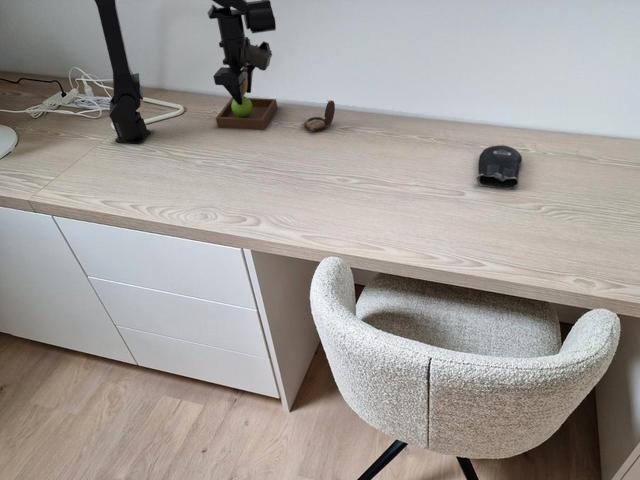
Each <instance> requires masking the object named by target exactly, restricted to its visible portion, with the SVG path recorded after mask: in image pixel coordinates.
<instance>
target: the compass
mask: <svg viewBox="0 0 640 480" xmlns="http://www.w3.org/2000/svg"><path fill="white" fill-rule="evenodd" d="M326 102H327V104H326V106H325V110H324V115H323V116H324V117H321V116H313V117H310V118H308V119H307V120H305V121H304V128H305V129H306V132H308V133H309V132H311V133H314V132H320V131H324V130H325V129H327V128H328V127H329V126H331V124H332V122H333V120H334V116H335V111H336V104H335V101H334V100H332V99H331V100H326Z"/></svg>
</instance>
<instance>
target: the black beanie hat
mask: <svg viewBox="0 0 640 480" xmlns="http://www.w3.org/2000/svg"><path fill="white" fill-rule="evenodd" d="M522 159H523V157H522V153H520V152H519V151H518V150H517V149H516V148H514V147H512V146H509V145H504V144H498V145H492V146H488V147H486V148H484V149H483V150H482V152H481V153H480V154H479V158H478V170H477V171H478V174H477V176H476V177H475V179H476V182H477V185H478V187H490V188H496V189H502V190H510V189H513V188H515V187H516V186H518V185H519V182H518V178H519V177H518V176H519V170H520V165H521V163H522V161H523V160H522Z"/></svg>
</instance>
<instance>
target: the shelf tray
mask: <svg viewBox="0 0 640 480" xmlns="http://www.w3.org/2000/svg"><path fill="white" fill-rule="evenodd" d="M247 98H248V99H249V100H250V101H251V103H252V106H253V109H252V112H251V114H250V115H249V116H247V117H244V118H241V117H238V116H236V115H235V114H234V113H233V111H232V108H231V104H232V101H233V100H234V99H233V97H232V96H231V98H230V99H229V100H228V102H227V103H226V104H225V105H224V107H223V108H222V110H221V111H220V112H219V113H218V114H217V116H216V117H215V120H216V125H217V128H222V129H223V128H224V129H244V130H259V131H261V130H262V131H265V130H266V128H267V126H268V124H269V123H270V121H271V120H272V118H273V116H274V115H275V113H276V111H277V110H278V102H277V99H276V98H261V97H260V98H259V97H247Z"/></svg>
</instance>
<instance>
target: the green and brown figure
mask: <svg viewBox="0 0 640 480" xmlns="http://www.w3.org/2000/svg"><path fill="white" fill-rule="evenodd" d="M243 69H244V72H243V76H244V77H243V79H246V80H245V81H244V83H243V84H242V105H238V104H237V103H236V101H235V100H233V101H232V104H231V108H232V111H233V113H234V114H235V115H236V116H238V117H241V118H244V117H247V116H249V115H250V114H251V112H252V109H253V106H252V103H251V101H250V100H249V99H248V98H249V97H247V96H245V95H246V93H247V92H246V91H247V83H248V81H247V76H248V74H247V67H244V68H243ZM245 69H246V72H245Z"/></svg>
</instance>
